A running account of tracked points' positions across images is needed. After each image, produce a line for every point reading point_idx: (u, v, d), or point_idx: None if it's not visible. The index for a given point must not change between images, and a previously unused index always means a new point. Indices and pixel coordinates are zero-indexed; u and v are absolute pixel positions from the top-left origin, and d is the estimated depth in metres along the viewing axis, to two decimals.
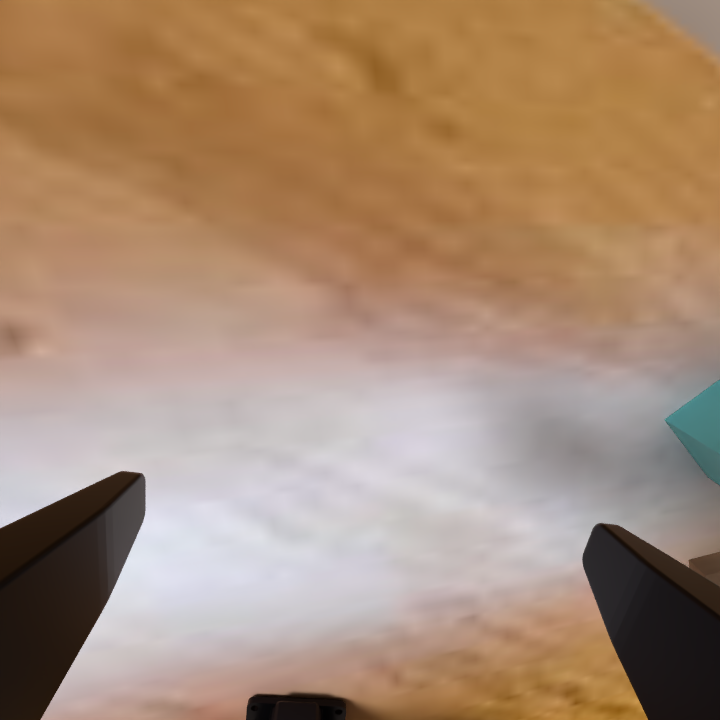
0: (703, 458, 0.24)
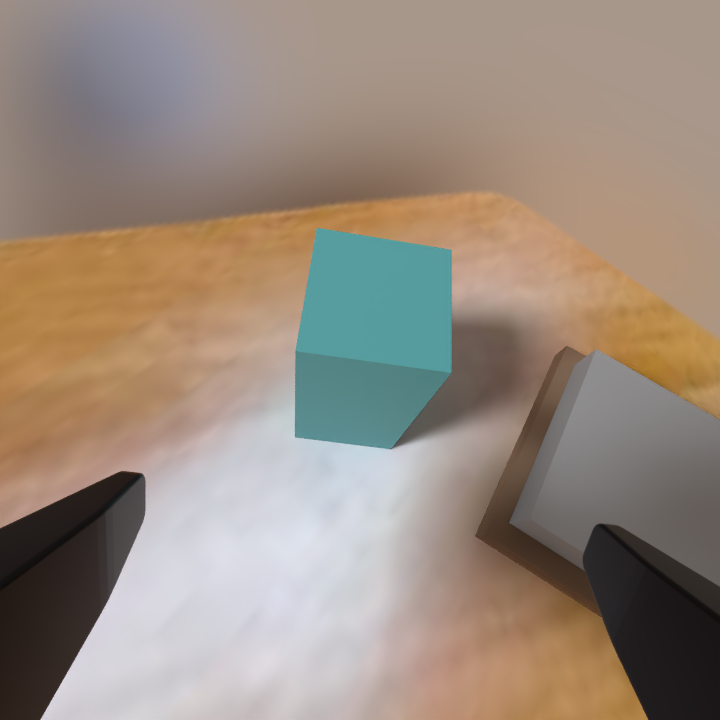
0: (340, 434, 0.22)
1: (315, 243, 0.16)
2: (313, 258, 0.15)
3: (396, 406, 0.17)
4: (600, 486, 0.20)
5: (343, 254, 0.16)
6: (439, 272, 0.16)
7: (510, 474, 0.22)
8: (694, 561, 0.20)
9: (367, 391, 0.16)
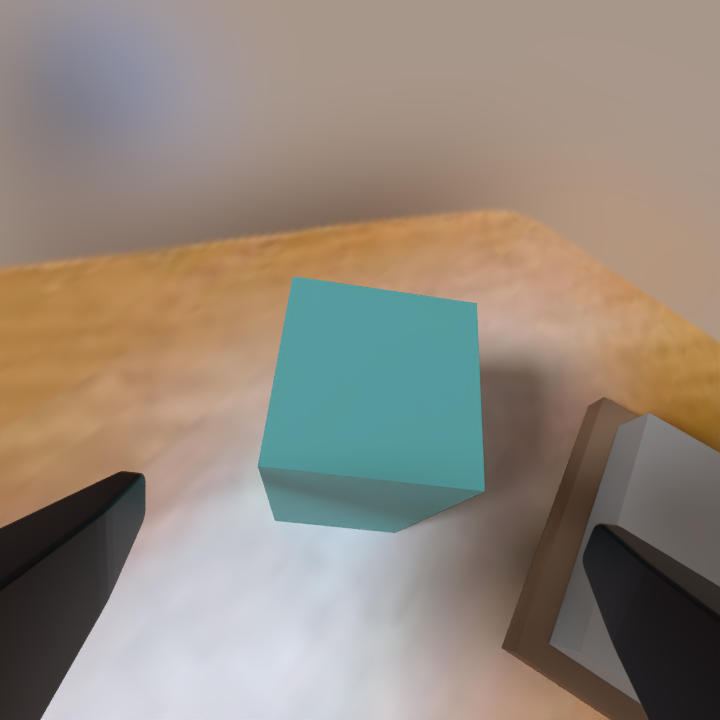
0: (331, 522, 0.17)
1: (290, 298, 0.11)
2: (287, 320, 0.11)
3: (403, 509, 0.13)
4: None
5: (329, 313, 0.11)
6: (461, 336, 0.12)
7: (544, 569, 0.18)
8: None
9: (364, 497, 0.12)
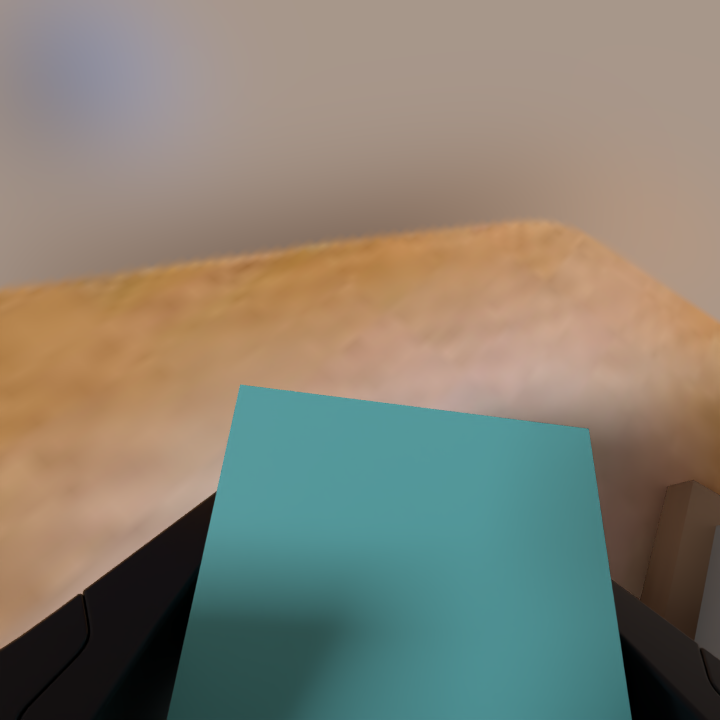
0: None
1: (233, 434, 0.06)
2: (223, 487, 0.05)
3: None
4: None
5: (309, 466, 0.06)
6: (567, 505, 0.06)
7: None
8: None
9: None
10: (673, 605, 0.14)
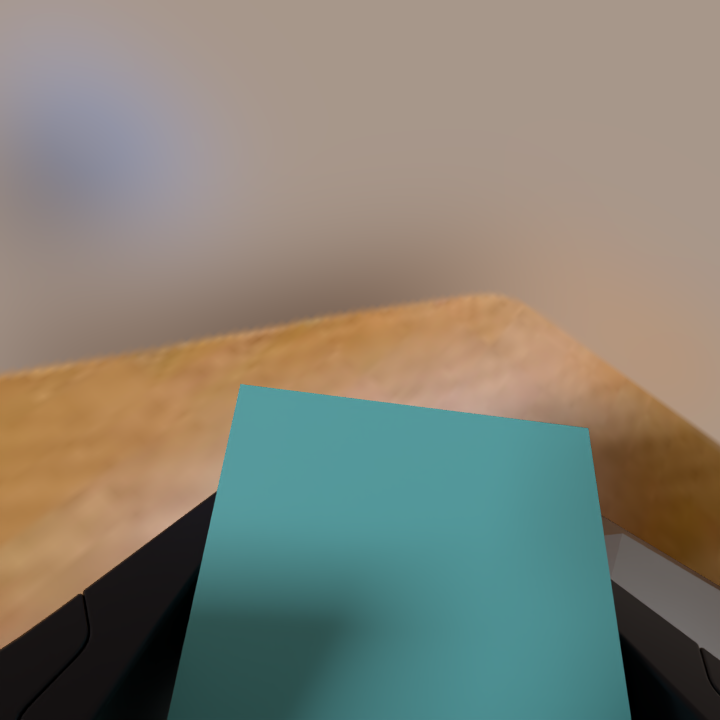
0: None
1: (233, 434, 0.06)
2: (223, 487, 0.05)
3: None
4: None
5: (309, 465, 0.06)
6: (566, 504, 0.06)
7: None
8: None
9: None
10: None
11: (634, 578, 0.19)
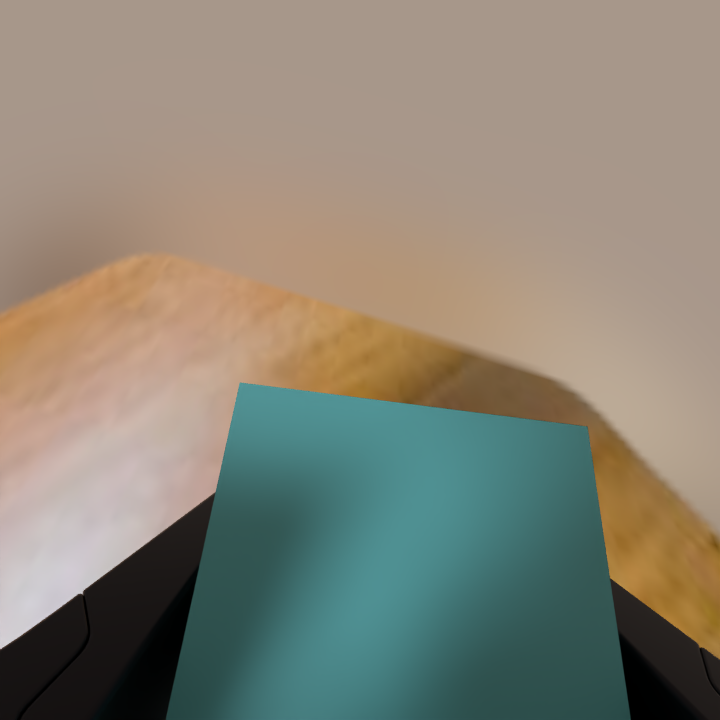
0: None
1: (232, 432, 0.06)
2: (222, 485, 0.05)
3: None
4: None
5: (308, 464, 0.06)
6: (566, 503, 0.06)
7: None
8: None
9: None
10: None
11: None
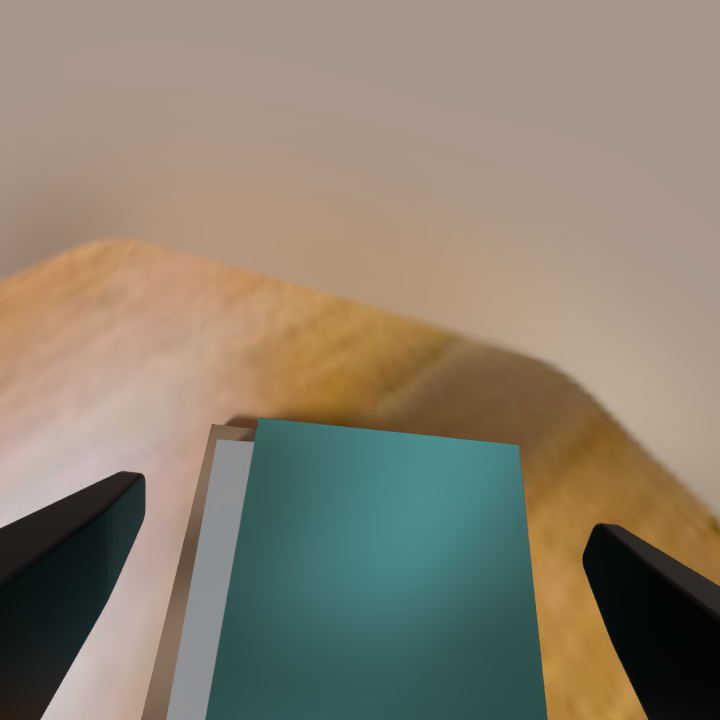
0: None
1: (254, 455, 0.08)
2: (249, 494, 0.08)
3: None
4: None
5: (311, 477, 0.08)
6: (500, 502, 0.08)
7: None
8: None
9: None
10: (191, 529, 0.18)
11: (234, 479, 0.17)
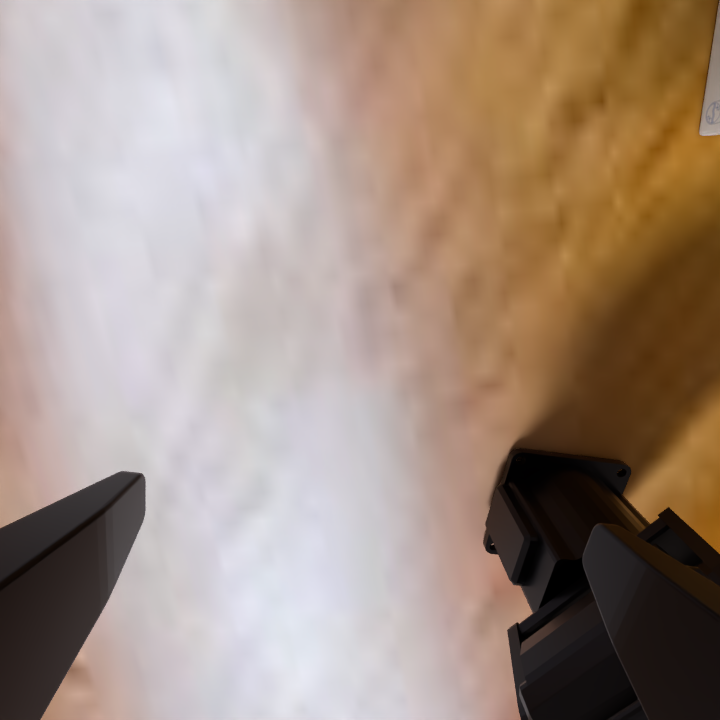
0: None
1: None
2: None
3: None
4: None
5: None
6: None
7: None
8: None
9: None
10: None
11: None
